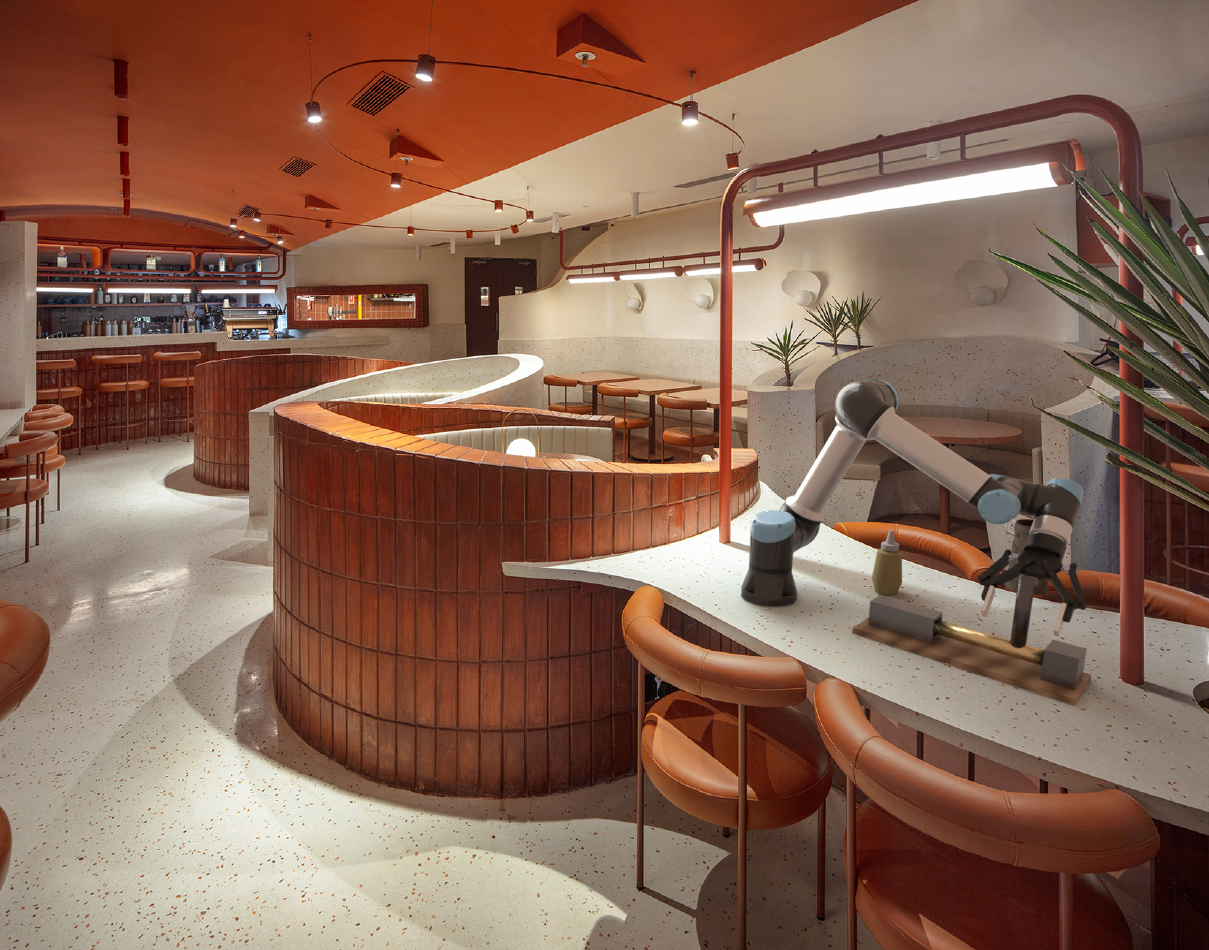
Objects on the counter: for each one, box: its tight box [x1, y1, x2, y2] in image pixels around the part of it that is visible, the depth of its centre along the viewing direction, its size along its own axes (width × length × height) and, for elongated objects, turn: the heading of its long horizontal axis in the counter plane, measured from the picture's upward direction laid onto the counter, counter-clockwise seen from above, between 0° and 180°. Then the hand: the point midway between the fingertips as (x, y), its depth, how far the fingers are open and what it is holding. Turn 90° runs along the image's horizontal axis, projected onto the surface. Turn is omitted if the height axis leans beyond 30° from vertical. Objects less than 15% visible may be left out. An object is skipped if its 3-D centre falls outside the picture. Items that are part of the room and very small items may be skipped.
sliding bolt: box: [934, 573, 1045, 666], centre depth 147 cm, size 27×3×19 cm, turn 45°
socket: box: [1040, 639, 1088, 690], centre depth 140 cm, size 6×7×7 cm
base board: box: [851, 616, 1092, 707], centre depth 154 cm, size 46×14×2 cm, turn 45°
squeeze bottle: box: [871, 530, 903, 596], centre depth 190 cm, size 8×8×18 cm
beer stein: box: [1004, 518, 1050, 596], centre depth 191 cm, size 15×11×20 cm
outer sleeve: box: [868, 594, 944, 644], centre depth 162 cm, size 15×6×6 cm, turn 45°
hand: (1018, 623), depth 143 cm, fingers open, 13 cm apart
